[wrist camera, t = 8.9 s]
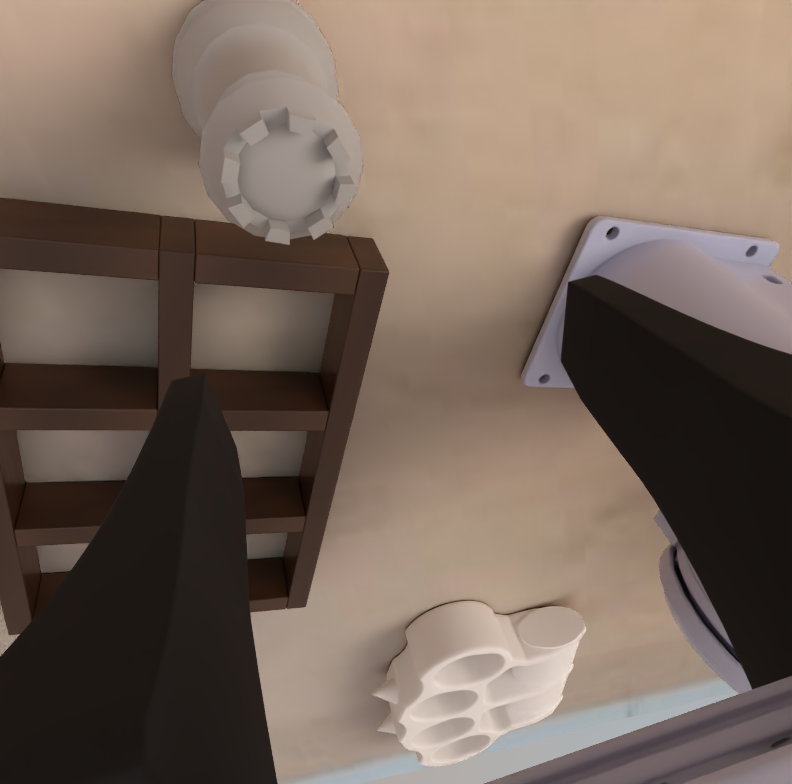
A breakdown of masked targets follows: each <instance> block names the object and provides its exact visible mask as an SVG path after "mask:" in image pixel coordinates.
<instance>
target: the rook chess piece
mask: <svg viewBox="0 0 792 784" xmlns="http://www.w3.org/2000/svg"><path fill="white" fill-rule="evenodd" d="M172 78H173V82H174V86H175V89H176V93H177V96H178V99H179V103H180V106H181V109H182V113H183V116H184V118H185V120H186V121H187V122H188V124H189V125H190V126H191V128H192V129H193V130H194V132H195V133H196V134H197V136H198V137H199V138H200V140H201V148H200V157H199V167H200V170H201V173H202V177H203V180H204V183H205V187H206V190H207V194H208V196H209V197H210V198H211V200H212V201H213V202H214V203H215V205H216V206H217V207H218V208H219V210H220V211H221V212H222V213H223V215H224V216H225V217H226V218H227V220H229V221H230V222H232V223H234V224H236V225H237V226H239V227H241V228H242V229H244V230H246V231H248V232H249V233H251V234H253V235H254V236H260V237H265V241H269V242H276V243H282V244H288V245H290V239H294V238H299V237H305V236H310V235H312V238H313V240H315V239H316V238H318V237H319V236H321V235H323V234H324V233H326V232H327V231H329V230H331V229H332V228H334V226H333V224H332V223H333V222H334V221H336V220H338V218H339V217H340V216H341V214H342V213H343V212H344V210H345V209H346V208H349V204H350V202H351V201H352V200H353V198H354V197H355V195H356V192H357V188H358V184H359V181H360V177H361V173H362V169H363V160H362V152H361V144H360V135H359V134H358V132H357V130H356V128H355V126H354V125H353V123H352V121H351V119H350V117H349V116H348V114H347V112H346V110H345V108H344V107H343V106H342V105H341V104H340V103H338V102H337V97H338V93H339V90H338V83H337V76H336V68H335V61H334V57H333V55H332V54H331V49H330V47H329V45H328V44H327V42H326V40H325V38H324V36H323V34H322V32H321V31H320V29H319V27H318V25H317V23H316V21H315V19H314V18H313V17H311V16H310V15H309V14H308V13H307V12H306V11H304V10H303V9H302V8H301V7H300V6H299V5H297V4H296V3H295V2H294V1H293V0H204V1H203V2H201V3H200V4H198V5H197V6H196V7H194V8H193V9H191V11H190V13H189V15H188V16H187V18H186V20H185V22H184V24H183V26H182V27H181V29H180V31H179V33H178V35H177V37H176V38H175V42H174V53H173V65H172Z"/></svg>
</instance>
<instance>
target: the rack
mask: <svg viewBox="0 0 792 784" xmlns="http://www.w3.org/2000/svg"><path fill="white" fill-rule="evenodd" d="M0 268H3V269H16V270H29V271H42V272H56V273H69V274H82V275H95V276H108V277H121V278H134V279H147V280H158V279H159V291H158V368H135V367H104V366H73V365H42V364H11V363H7V364H5V365H4V361H3V355H2V350H1V344H0V602H1V606H2V610H3V614H4V618H5V622H6V626H7V630H8V634H9V635H17V634H21V633H22V632H23V631H24V629H25V628H26V627H27V626H28V625H29V624H30V623H31V621H32V620H33V619H34V618H35V617H36V615H37V614H38V613H39V612H40V610H41V609H42V608H43V607H44V605H45V604H46V603H47V601H48V600H49V599H50V597H51V596H52V595H53V594H54V592H55V591H56V590H57V588H58V587H59V586H60V585H61V583H62V582H63V581H64V579H65V578H66V577H67V575H68V574H69V572H63V573H48V574H42V575H41V571H40V565H39V560H38V554H37V548H36V546H39V545H57V544H76V543H90V542H91V541H92V539H93V538H94V536H95V534H96V533H97V531H98V530H99V528H100V526H101V525H102V523H103V521H104V520H105V518H106V516H107V515H108V513H109V511H110V510H111V508H112V506H113V504H114V502H115V501H116V499H117V497H118V495H119V493H120V491H121V490H122V488H123V486H124V484H125V482H126V481H108V482H66V483H27V484H26V485H25V480H24V475H23V469H22V463H21V458H20V452H19V446H18V441H17V435H16V430H151V428H152V426H153V423H154V421H155V419H156V416H157V414H158V411H159V409H160V406H161V404H162V401H163V399H164V396H165V394H166V391H167V389H168V386H169V385H170V383H171V382H172V381H173V380H177V379H181V378H185V377H189V376H193V375H197V374H201V373H206V375H207V378H208V380H209V382H210V385H211V387H212V390H213V392H214V394H215V397H216V399H217V402H218V404H219V407H220V409H221V411H222V414H223V416H224V419H225V421H226V423H227V426H228V428H229V431H308V435H307V441H306V446H305V451H304V456H303V461H302V466H301V471H300V476H299V478H298V477H280V478H242V482H243V488H244V497H245V517H246V534H261V533H280V532H288V537H287V542H286V547H285V552H284V557H283V559H282V558H276V559H261V560H247V564H248V588H249V604H250V612H259V611H270V610H280V609H286V608H287V609H291V608H302V607H306V604H307V600H308V596H309V592H310V588H311V584H312V580H313V576H314V572H315V568H316V564H317V560H318V556H319V552H320V547H321V543H322V539H323V535H324V531H325V527H326V523H327V519H328V515H329V511H330V507H331V503H332V499H333V495H334V491H335V487H336V483H337V479H338V475H339V471H340V467H341V463H342V459H343V455H344V451H345V447H346V443H347V439H348V435H349V431H350V427H351V423H352V419H353V415H354V411H355V407H356V403H357V399H358V395H359V391H360V387H361V383H362V379H363V375H364V371H365V367H366V363H367V359H368V355H369V351H370V347H371V343H372V339H373V335H374V331H375V327H376V323H377V319H378V315H379V311H380V307H381V303H382V299H383V295H384V291H385V287H386V283H387V279H388V275H389V270H388V268H387V266H386V264H385V262H384V260H383V258H382V256H381V254H380V252H379V250H378V248H377V246H376V244H375V242H374V240H373V239H370V238H360V237H351V236H347V238H346V236H343V235H334V234H323V235H321V236H319V237H318V238H316V239H315V240H313V238H312V235H310V236H305V237H299V238H294V239H290V245H288V244H282V243H276V242H269V241H265V237H260V236H254V235H253V234H251V233H249V232H248V231H246V230H244V229H242V228H241V227H239V226H237V225H236V224H233V223H223V222H214V221H205V220H195V222H194V219H188V218H179V217H170V216H160V215H153V214H144V213H134V212H125V211H116V210H107V209H98V208H88V207H79V206H70V205H61V204H52V203H43V202H33V201H24V200H15V199H6V198H0ZM194 281H195V282H196V283H204V284H217V285H230V286H243V287H256V288H269V289H282V290H295V291H308V292H321V293H335V298H334V303H333V309H332V314H331V319H330V324H329V329H328V334H327V339H326V344H325V349H324V354H323V359H322V364H321V369H320V375H319V373H296V372H265V371H234V370H203V369H190V366H191V342H192V319H193V296H194Z"/></svg>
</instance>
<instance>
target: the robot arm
mask: <svg viewBox="0 0 792 784" xmlns="http://www.w3.org/2000/svg"><path fill="white" fill-rule="evenodd" d="M612 227H614V228H613V230H612V232H611V233H610V234H608V235H606V233H607V231H608V230H609V229H610V228H612ZM779 248H780V246H779V244H778V243H777V242H775V241H774V240H771V239H766V238H759V237H752V236H745V235H738V234H731V233H724V232H716V231H709V230H702V229H695V228H688V227H681V226H674V225H666V224H659V223H652V222H645V221H638V220H631V219H624V218H616V217H609V216H597V217H594V218H593V219H592V220H590V221H589V222H588V224H587V226H586V228H585V230H584V232H583V234H582V237H581V239H580V241H579V244H578V246H577V248H576V250H575V253H574V255H573V257H572V260H571V262H570V264H569V266H568V269H567V271H566V273H565V276H564V278H563V280H562V282H561V285H560V287H559V289H558V292H557V294H556V296H555V298H554V301H553V303H552V305H551V308H550V310H549V312H548V314H547V317H546V319H545V321H544V324H543V326H542V328H541V330H540V333H539V335H538V337H537V340H536V342H535V344H534V347H533V349H532V351H531V353H530V356H529V358H528V360H527V363H526V365H525V367H524V369H523V372H522V374H521V379H522V381H523V383H524V384H525V385H526V386H528V387H550V388H575V389H576V391H577V393H578V395H579V397H580V398H581V400H582V402H583V403H584V404H585V406H586V407H587V409H588V410H589V411H590V413H591V414H592V415H593V417H594V418H595V419H596V421H597V422H598V424H599V425H600V426H601V428H602V429H603V430H604V432H605V433H606V434H607V436H608V437H609V438H610V440H611V441H612V442H613V444H614V445H615V446H616V448H617V449H618V450H619V452H620V453H621V454H622V456H623V457H624V458H625V460H626V461H627V462H628V464H629V465H630V466H631V468H632V469H633V470H634V472H635V473H636V474H637V476H638V477H639V478H640V480H641V481H642V482H643V484H644V485H645V487H646V488H647V490H648V491H649V493H650V494H651V496H652V497H653V499H654V500H655V502H656V504H657V505H658V507H659V509H660V511H659V512H658V513H657V514H656V515H655V516H654V520H655V522H656V523H657V524H658V526H659V527H660V529H661V530H662V532H663V533H664V534H665V536H666V537H667V539H668V540H669V541H670V543H671V545H669V546H668V547H667V548H666V549H665V550H664V551H663V553H662V555H661V557H660V562H659V571H660V578H661V582H662V585H663V589H664V594H665V598H666V601H667V604H668V607H669V609H670V611H671V613H672V615H673V617H674V619H675V621H676V623H677V625H678V626H679V628H680V630H681V631H682V633H683V634H684V636H685V637H686V639H687V640H688V642H689V643H690V644H691V646H692V647H693V648H694V649H695V651H696V652H697V653H698V654H699V656H700V657H701V658H702V659H703V660H704V661H705V662H706V664H707V665H708V666H709V667H710V668H711V669H712V670H713V671H714V672H715V673H716V674H717V675H718V676H719V677H720V678H721V679H722V680H723V681H725V682H726V683H727V684H728V685H729V686H730V687H732V688H733V689H734V690H735V691H737V692H738V693H739V695H736V696H733V697H730V698H727V699H724V700H721V701H719V702H716V703H713V704H710V705H707V706H704V707H701V708H699V709H696V710H693V711H690V712H687V713H684V714H681V715H679V716H676V717H673V718H670V719H668V720H664V721H662V722H659V723H656V724H653V725H650V726H647V727H644V728H642V729H639V730H636V731H633V732H630V733H627V734H624V735H622V736H619V737H616V738H613V739H610V740H607V741H605V742H602V743H599V744H596V745H593V746H590V747H588V748H585V749H582V750H579V751H576V752H573V753H570V754H567V755H565V756H562V757H559V758H556V759H553V760H551V761H547V762H545V763H542V764H539V765H536V766H533V767H531V768H527V769H525V770H522V771H519V772H516V773H514V774H510V775H507V776H505V777H502V778H499V779H496V780H493V781H490V782H488V783H485V784H792V283H791V282H790V281H788V280H787V279H785V278H784V277H783V276H781V275H780V274H778V273H777V272H776V271H774V270H773V269H771V268H770V265H771V264H772V262H773V261H774V259H775V257H776V256H777V254H778V252H779ZM747 250H748V251H747ZM543 375H545V376H544V377H542V378H540V377H541V376H543ZM0 784H277V779H276V773H275V767H274V761H273V756H272V750H271V744H270V738H269V733H268V727H267V721H266V715H265V709H264V703H263V697H262V690H261V684H260V678H259V672H258V665H257V658H256V652H255V645H254V638H253V631H252V624H251V616H250V604H249V588H248V564H247V540H246V517H245V497H244V488H243V482H242V476H241V470H240V465H239V459H238V453H237V448H236V445H235V443H234V440H233V438H232V435H231V433H230V431H229V428H228V426H227V423H226V421H225V419H224V416H223V414H222V411H221V409H220V407H219V404H218V402H217V399H216V397H215V394H214V392H213V390H212V387H211V385H210V382H209V380H208V378H207V375H206V373H201V374H197V375H193V376H189V377H185V378H181V379H177V380H173V381H172V382H171V383H170V385H169V386H168V389H167V391H166V394H165V396H164V399H163V401H162V404H161V406H160V409H159V411H158V414H157V416H156V419H155V421H154V423H153V426H152V428H151V430H150V433H149V435H148V437H147V439H146V441H145V444H144V446H143V448H142V450H141V452H140V454H139V456H138V458H137V461H136V463H135V465H134V467H133V469H132V471H131V473H130V475H129V477H128V479H127V480H126V482H125V484H124V486H123V488H122V490H121V491H120V493H119V495H118V497H117V499H116V501H115V502H114V504H113V506H112V508H111V510H110V511H109V513H108V515H107V516H106V518H105V520H104V521H103V523H102V525H101V526H100V528H99V530H98V531H97V533H96V534H95V536H94V538H93V539H92V541H91V542H90V544H89V545H88V547H87V548H86V550H85V551H84V553H83V554H82V556H81V557H80V559H79V560H78V561H77V563H76V564H75V566H74V567H73V568H72V570H71V571H70V572H69V574H68V575H67V577H66V578H65V579H64V581H63V582H62V583H61V585H60V586H59V587H58V588H57V590H56V591H55V592H54V594H53V595H52V596H51V597H50V599H49V600H48V601H47V603H46V604H45V605H44V607H43V608H42V609H41V610H40V612H39V613H38V614H37V615H36V617H35V618H34V619H33V620H32V621H31V623H30V624H29V625H28V626H27V627H26V628H25V629H24V631H23V632H22V633H21V634H20V635H19V636H18V638H17V639H16V640H15V641H14V642H13V643H12V645H11V646H10V647H9V648H8V649H7V650H6V651H5V652H4V653H3V654H2V655H1V657H0Z"/></svg>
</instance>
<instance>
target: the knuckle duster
mask: <svg viewBox="0 0 792 784" xmlns="http://www.w3.org/2000/svg"><path fill="white" fill-rule="evenodd" d="M585 632H586V627H585V625H584V620H583V618H582V616H581V615H580V614H579V613H578V612H577V611H575V610H573V609H570V608H566V607H560V606H550V607H544V608H537V609H529V610H526V611H522V612H518V613H514V614H510V615H501V614H494V612H493V610H492V609H491V608H490V607H489V606H487V605H486V604H484V603H481V602H477V601H459V602H453V603H449V604H445V605H442V606H439V607H437V608H434V609H432V610H430V611H428V612H426V613H424V614H423V615H421V616H420V617H418V618H417V619H416V620H414V621H413V622H412V623H411V624H410V625H409V627H408V628H407V629H406V631H405V634H406V638H407V641H408V644H407V646H406V648H405V649H404V650H403V651H402V653H400V654H399V655H398V656H397V657H396V658H394V659H393V661H392V663H391V665H390V668H389V670H388V672H387V675H386V678H387V682H386V683H385V684H384V685H383V686H381V687H380V688H379V689H377V690H376V691H375V692H374V693H372V694H371V695H374V696H376V697H379V698H381V699H384V700H386V701H389V705H390V709H391V713H390V714H389V715H388V717H387V718H386V719H385V720H384V721H383V722H382V724H381V725H380V726H379V727H378V728H377V729H376V731H381V732H387V733H393V734H397V738H398V740H399V742H400V743H401V744H402V745H403V746H404V747H405V748H406V749H407V750H413V751H416V754H417V758H418V761H419V763H420V764H421V765H424V766H432V767H434V766H444V765H449V764H453V763H456V762H460V761H462V760H465V759H468V758H470V757H472V756H474V755H476V754H478V753H480V752H482V751H483V750H485V749H486V748H487V747H489V746H490V745H491V744H492V743H493V742H494V740H495V739H496V738H498V737H500V736H502V735H503V734H505V733H507V732H509V731H511V730H514V729H517V728H521V727H524V726H528V725H531V724H534V723H536V722H538V721H539V720H541V719H543V718H545V717H547V716H549V715H551V714H552V713H553V711H554V710H555V708H556V707H557V706H558V704H559V703H560V702H561V700H562V699H563V695H562V691H563V688H564V685H565V682H566V679H567V676H568V674H569V673H570V672H571V670H572V669H573V667H574V665H573V659H574V656H575V653H576V650H577V647H578V644H579V641H580V639H581V637H582V636H583V635H584V634H585Z"/></svg>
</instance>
